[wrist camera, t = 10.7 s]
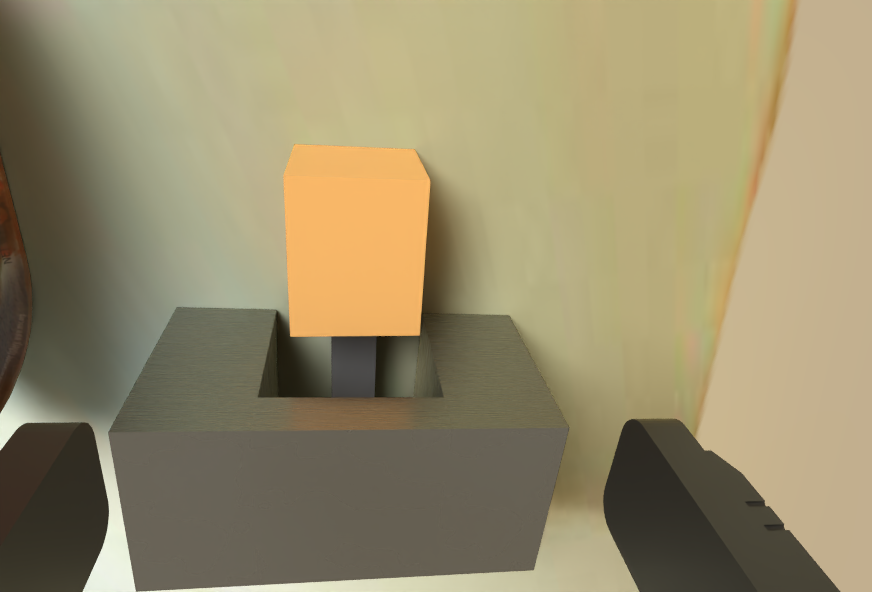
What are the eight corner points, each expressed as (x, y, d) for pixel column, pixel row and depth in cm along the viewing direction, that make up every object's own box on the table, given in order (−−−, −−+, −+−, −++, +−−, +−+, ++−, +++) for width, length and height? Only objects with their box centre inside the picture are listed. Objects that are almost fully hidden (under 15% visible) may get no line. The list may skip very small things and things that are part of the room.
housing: (189, 438, 24) (135, 591, 18) (176, 307, 21) (108, 432, 15) (487, 435, 26) (533, 569, 20) (508, 315, 23) (569, 427, 17)
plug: (305, 501, 26) (300, 579, 23) (294, 144, 19) (283, 175, 16) (395, 496, 27) (403, 571, 23) (414, 149, 20) (430, 180, 16)
